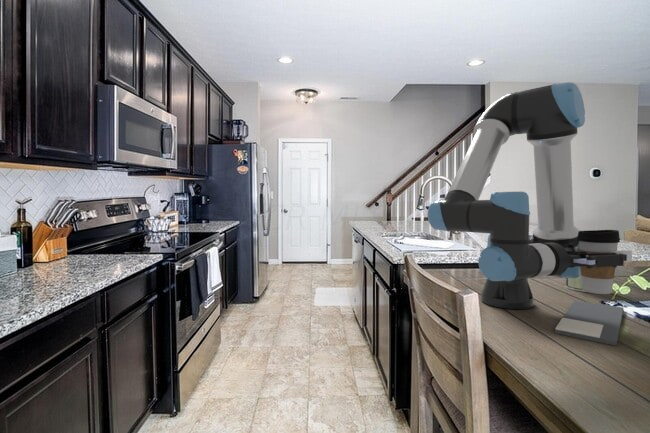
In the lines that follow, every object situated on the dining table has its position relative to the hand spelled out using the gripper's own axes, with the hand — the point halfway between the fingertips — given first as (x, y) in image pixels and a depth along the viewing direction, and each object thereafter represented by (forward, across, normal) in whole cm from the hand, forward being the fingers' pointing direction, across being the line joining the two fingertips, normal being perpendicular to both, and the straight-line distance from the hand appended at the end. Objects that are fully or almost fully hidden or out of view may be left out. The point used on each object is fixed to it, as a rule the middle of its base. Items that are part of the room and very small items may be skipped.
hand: (611, 253), depth 90 cm
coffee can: (+34, -31, -20) cm, 51 cm away
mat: (+4, -7, -20) cm, 21 cm away
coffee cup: (-5, 0, -9) cm, 10 cm away
